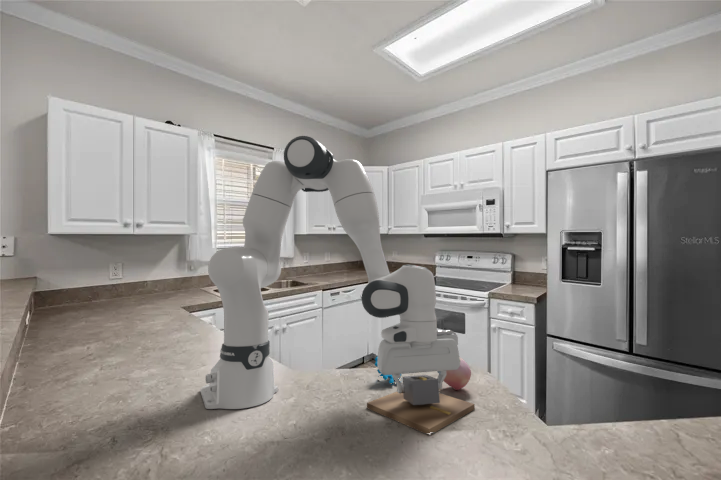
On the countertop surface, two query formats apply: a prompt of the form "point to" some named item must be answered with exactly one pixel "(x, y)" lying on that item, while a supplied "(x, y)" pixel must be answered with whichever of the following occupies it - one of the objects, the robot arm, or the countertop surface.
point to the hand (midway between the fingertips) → (419, 390)
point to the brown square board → (421, 411)
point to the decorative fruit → (458, 376)
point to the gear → (384, 375)
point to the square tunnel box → (421, 390)
